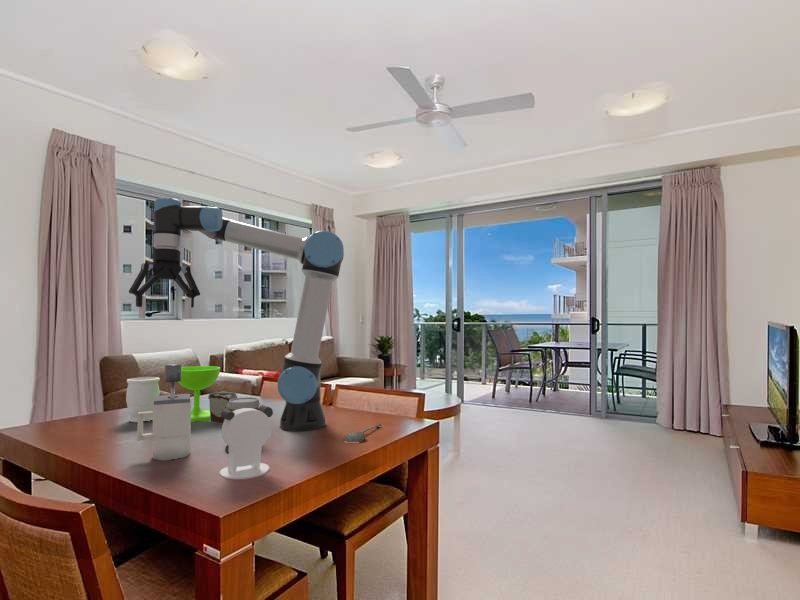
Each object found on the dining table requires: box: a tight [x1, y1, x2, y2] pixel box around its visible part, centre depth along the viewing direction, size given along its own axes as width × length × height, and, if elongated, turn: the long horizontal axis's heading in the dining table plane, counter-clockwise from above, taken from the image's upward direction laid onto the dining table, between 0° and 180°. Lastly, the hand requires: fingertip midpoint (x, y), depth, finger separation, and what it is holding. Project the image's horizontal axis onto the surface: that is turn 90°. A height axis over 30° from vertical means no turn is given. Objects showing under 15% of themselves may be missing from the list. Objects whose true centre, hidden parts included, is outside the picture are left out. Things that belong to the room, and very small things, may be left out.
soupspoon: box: [342, 423, 383, 443], centre depth 147 cm, size 22×3×7 cm
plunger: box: [164, 363, 182, 398], centre depth 126 cm, size 4×4×17 cm
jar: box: [125, 376, 161, 423], centre depth 167 cm, size 11×10×15 cm
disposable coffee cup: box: [227, 396, 261, 412], centre depth 141 cm, size 10×10×12 cm
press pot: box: [136, 393, 192, 461], centre depth 124 cm, size 13×9×16 cm
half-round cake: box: [208, 391, 238, 425], centre depth 165 cm, size 12×6×10 cm, turn 58°
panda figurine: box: [219, 404, 274, 480], centre depth 113 cm, size 12×11×15 cm
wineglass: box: [177, 365, 221, 423], centre depth 172 cm, size 16×16×18 cm
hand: (165, 318), depth 142 cm, fingers open, 13 cm apart
